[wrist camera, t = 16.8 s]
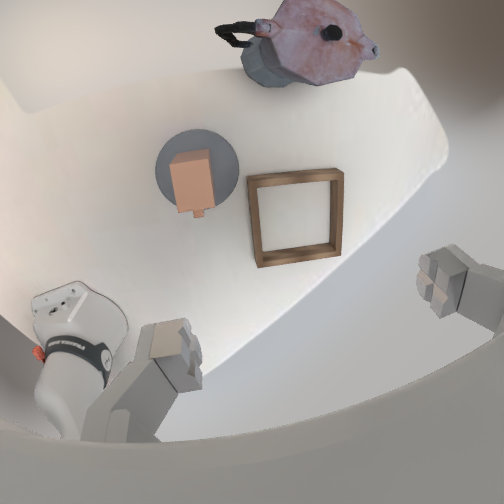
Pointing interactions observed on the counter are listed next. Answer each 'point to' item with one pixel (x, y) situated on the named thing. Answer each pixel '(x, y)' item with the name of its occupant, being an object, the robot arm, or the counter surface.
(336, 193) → the frame
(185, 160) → the terracotta clay block
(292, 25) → the moka pot
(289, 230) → the counter surface
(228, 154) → the slate coaster
